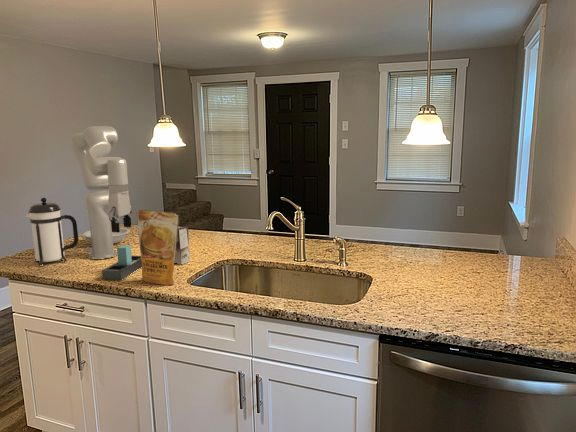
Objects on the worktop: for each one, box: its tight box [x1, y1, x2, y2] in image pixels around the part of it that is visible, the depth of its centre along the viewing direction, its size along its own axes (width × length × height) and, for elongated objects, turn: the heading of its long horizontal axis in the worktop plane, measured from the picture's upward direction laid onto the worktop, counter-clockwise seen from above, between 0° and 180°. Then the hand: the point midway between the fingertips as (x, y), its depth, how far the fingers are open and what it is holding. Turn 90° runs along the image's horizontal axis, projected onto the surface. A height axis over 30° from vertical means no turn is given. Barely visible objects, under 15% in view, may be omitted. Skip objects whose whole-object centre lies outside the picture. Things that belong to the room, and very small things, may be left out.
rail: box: [101, 255, 142, 281], centre depth 189 cm, size 8×22×4 cm, turn 172°
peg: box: [116, 244, 133, 265], centre depth 188 cm, size 4×4×11 cm
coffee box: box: [174, 225, 191, 265], centre depth 201 cm, size 9×6×16 cm
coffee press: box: [25, 197, 79, 266], centre depth 204 cm, size 17×16×30 cm
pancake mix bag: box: [136, 209, 180, 286], centre depth 174 cm, size 7×19×28 cm, turn 64°
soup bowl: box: [81, 227, 131, 245], centre depth 238 cm, size 24×24×7 cm
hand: (121, 229), depth 186 cm, fingers open, 9 cm apart
